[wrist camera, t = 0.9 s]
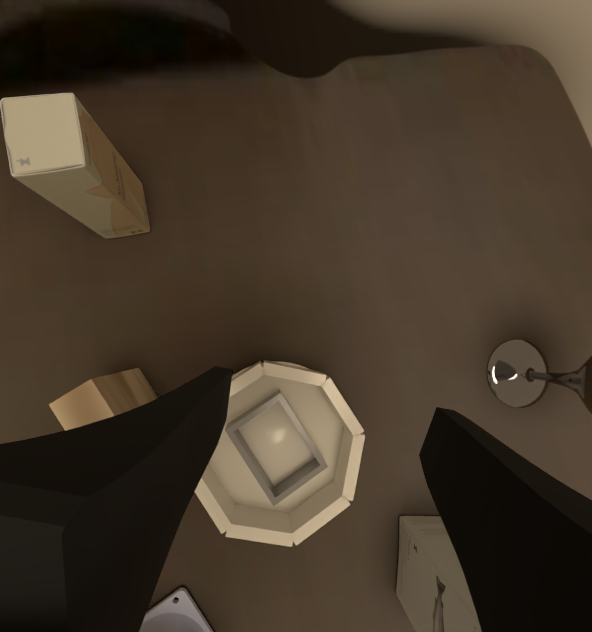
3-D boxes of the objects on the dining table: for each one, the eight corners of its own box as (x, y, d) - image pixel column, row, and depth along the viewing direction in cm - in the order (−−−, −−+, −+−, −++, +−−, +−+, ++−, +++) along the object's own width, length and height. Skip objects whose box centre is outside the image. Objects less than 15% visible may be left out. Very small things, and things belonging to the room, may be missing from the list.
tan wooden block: (138, 432, 28) (89, 469, 20) (108, 385, 28) (48, 404, 20) (167, 413, 29) (131, 442, 21) (138, 367, 29) (91, 378, 21)
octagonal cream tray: (251, 549, 28) (250, 583, 24) (167, 417, 28) (152, 430, 25) (377, 456, 30) (394, 474, 26) (298, 332, 30) (303, 331, 26)
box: (151, 232, 30) (86, 170, 19) (104, 240, 29) (8, 180, 18) (142, 180, 30) (72, 87, 19) (95, 186, 29) (-6, 95, 18)
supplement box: (397, 513, 30) (492, 637, 18) (468, 515, 31) (608, 635, 18) (392, 593, 30) (488, 781, 17) (465, 594, 30) (607, 774, 18)
